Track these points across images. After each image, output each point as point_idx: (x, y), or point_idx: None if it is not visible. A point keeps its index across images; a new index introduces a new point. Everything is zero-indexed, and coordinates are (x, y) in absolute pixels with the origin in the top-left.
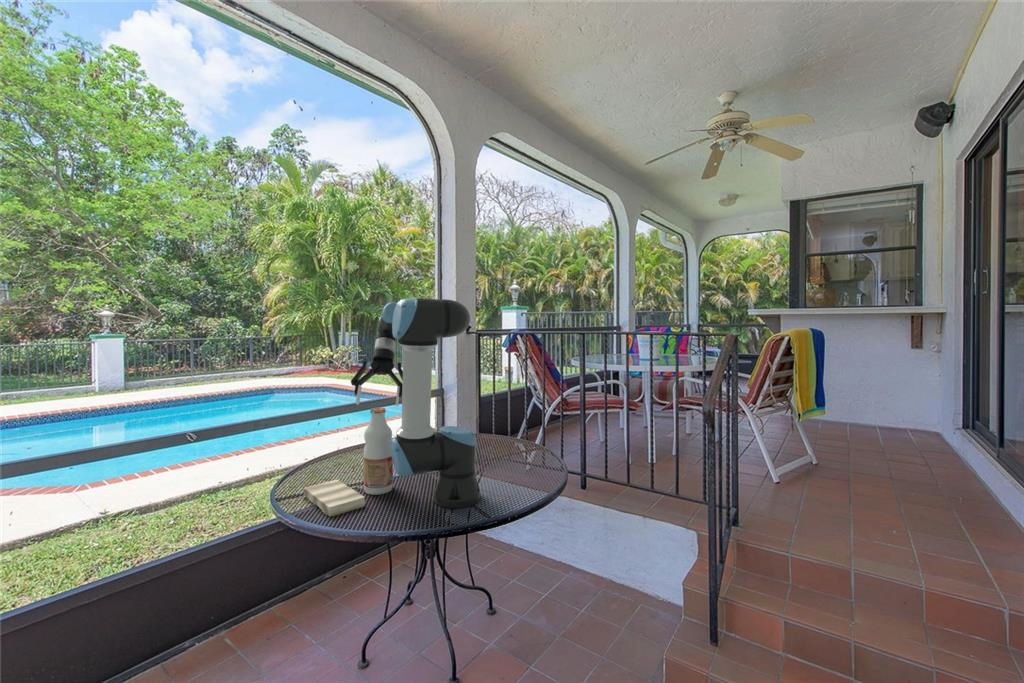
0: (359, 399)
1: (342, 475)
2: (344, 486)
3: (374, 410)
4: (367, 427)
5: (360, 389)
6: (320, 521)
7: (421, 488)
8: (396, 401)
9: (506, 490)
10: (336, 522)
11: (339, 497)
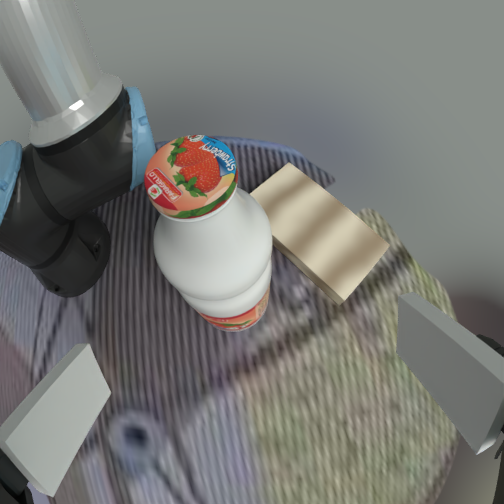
0: (414, 356)
1: (360, 389)
2: (306, 257)
3: (202, 136)
4: (257, 215)
5: (470, 382)
6: (296, 162)
7: (135, 307)
8: (79, 350)
9: (8, 290)
10: (267, 160)
11: (290, 200)
